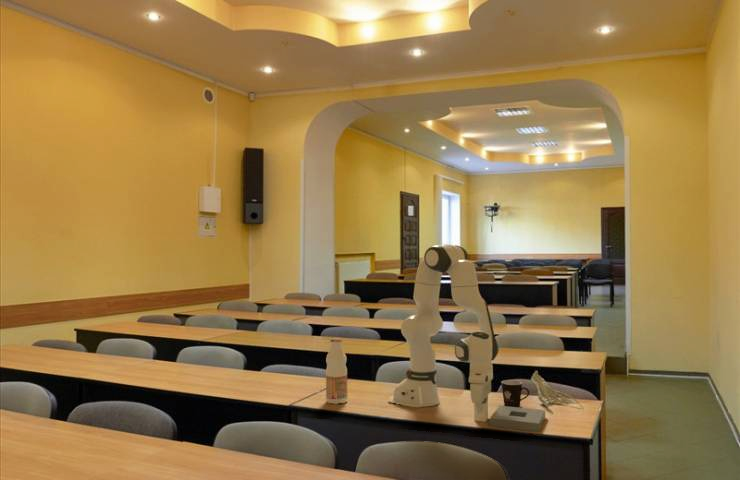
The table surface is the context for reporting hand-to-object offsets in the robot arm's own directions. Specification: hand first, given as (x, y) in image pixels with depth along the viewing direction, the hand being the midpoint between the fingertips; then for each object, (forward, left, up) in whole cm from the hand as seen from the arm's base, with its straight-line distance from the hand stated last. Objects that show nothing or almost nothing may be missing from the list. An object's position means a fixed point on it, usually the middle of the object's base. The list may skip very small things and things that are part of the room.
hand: (482, 409), depth 226 cm
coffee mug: (+9, +22, -4) cm, 24 cm away
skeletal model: (+22, +32, -4) cm, 39 cm away
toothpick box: (0, 0, -4) cm, 4 cm away
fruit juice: (-65, +2, -4) cm, 66 cm away
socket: (+14, +2, -4) cm, 14 cm away
